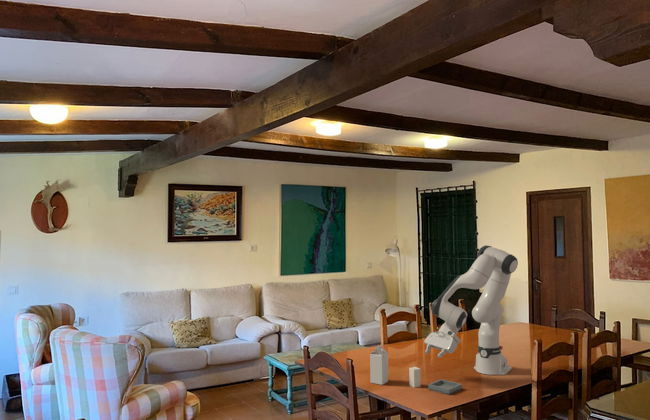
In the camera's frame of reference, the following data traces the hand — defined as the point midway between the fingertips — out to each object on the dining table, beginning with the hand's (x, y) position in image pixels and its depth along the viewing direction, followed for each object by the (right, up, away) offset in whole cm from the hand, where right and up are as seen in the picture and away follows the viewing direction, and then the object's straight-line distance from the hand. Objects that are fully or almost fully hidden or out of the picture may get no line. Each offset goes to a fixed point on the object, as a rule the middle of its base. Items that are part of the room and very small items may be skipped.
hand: (432, 355), depth 257 cm
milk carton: (-28, -15, +1) cm, 32 cm away
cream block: (-10, -14, -5) cm, 18 cm away
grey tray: (+4, -14, -11) cm, 18 cm away
